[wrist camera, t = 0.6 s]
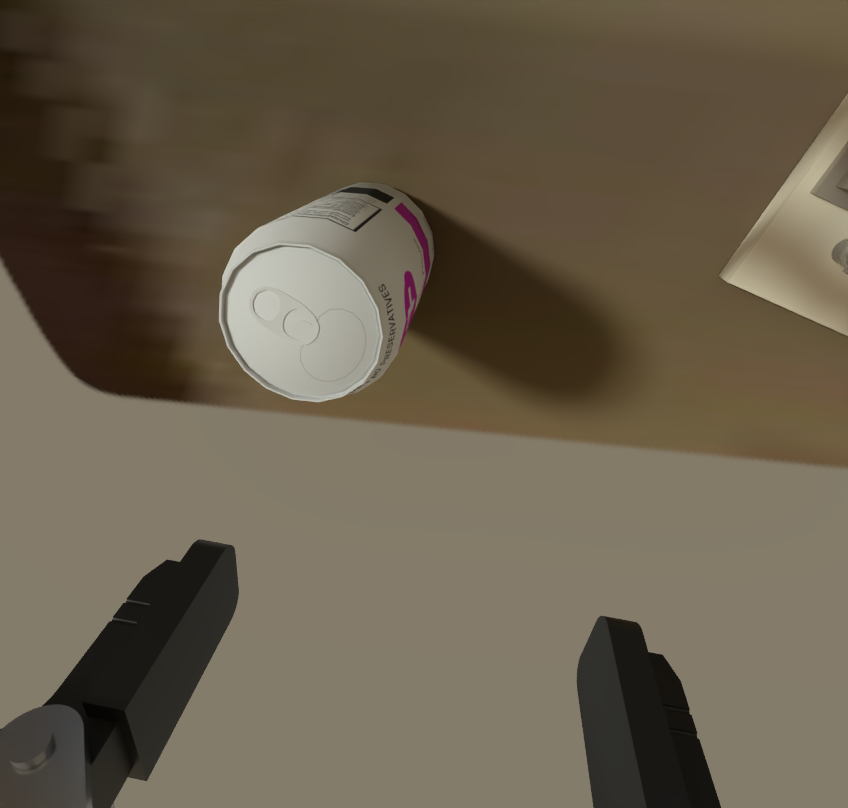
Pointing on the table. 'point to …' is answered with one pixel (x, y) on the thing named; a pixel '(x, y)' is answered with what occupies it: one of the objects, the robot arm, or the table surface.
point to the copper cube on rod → (841, 254)
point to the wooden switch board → (803, 235)
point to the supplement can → (327, 292)
